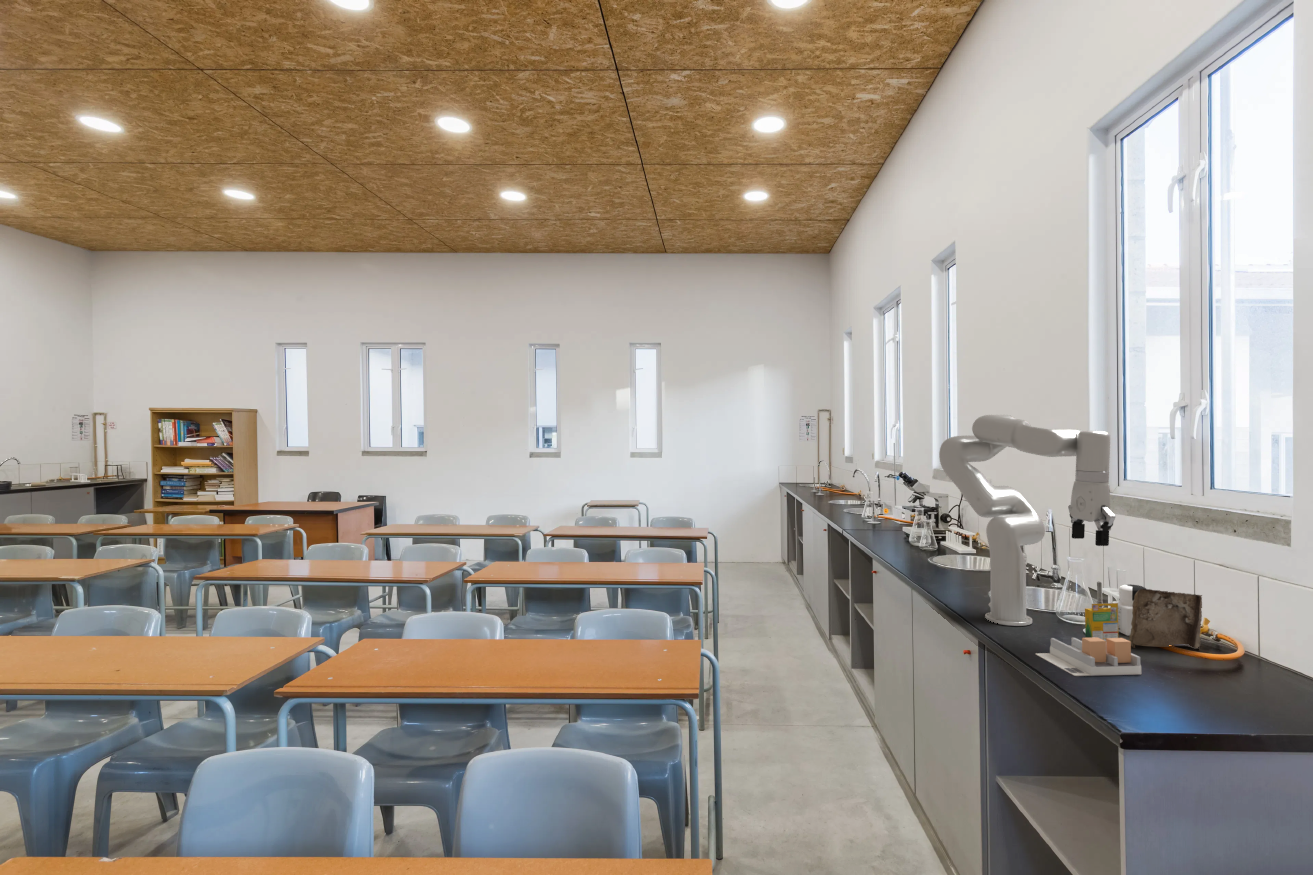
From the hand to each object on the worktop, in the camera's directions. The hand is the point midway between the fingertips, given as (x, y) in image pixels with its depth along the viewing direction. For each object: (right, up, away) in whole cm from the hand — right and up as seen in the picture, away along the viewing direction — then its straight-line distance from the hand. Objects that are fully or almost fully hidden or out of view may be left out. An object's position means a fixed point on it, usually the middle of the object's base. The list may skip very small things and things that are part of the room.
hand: (1089, 541), depth 188 cm
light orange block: (-6, -25, -20) cm, 33 cm away
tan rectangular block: (-11, -25, -20) cm, 34 cm away
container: (+19, -27, +10) cm, 34 cm away
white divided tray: (-10, -27, -16) cm, 33 cm away
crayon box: (+2, -27, -2) cm, 27 cm away
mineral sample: (+17, -27, -4) cm, 32 cm away
